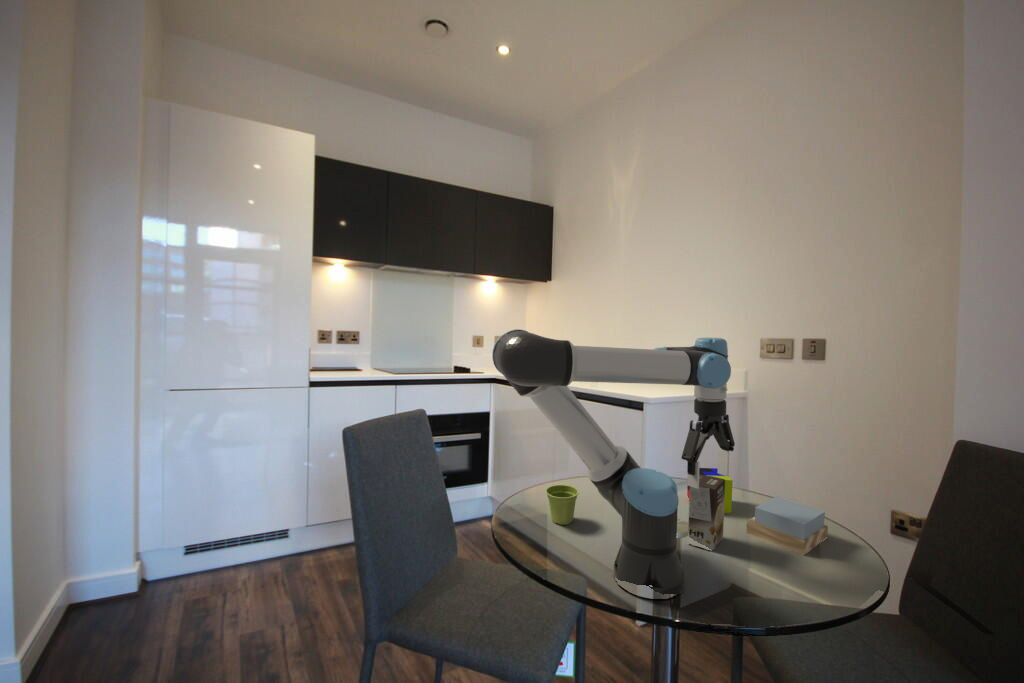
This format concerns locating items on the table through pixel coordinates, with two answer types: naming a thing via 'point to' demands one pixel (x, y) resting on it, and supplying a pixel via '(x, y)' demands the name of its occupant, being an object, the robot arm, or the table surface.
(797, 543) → the oak base slab
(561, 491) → the plant pot
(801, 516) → the slate-blue top slab
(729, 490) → the puzzle toy
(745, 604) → the table surface
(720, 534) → the coffee box
